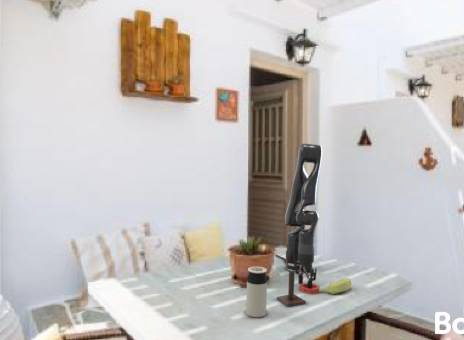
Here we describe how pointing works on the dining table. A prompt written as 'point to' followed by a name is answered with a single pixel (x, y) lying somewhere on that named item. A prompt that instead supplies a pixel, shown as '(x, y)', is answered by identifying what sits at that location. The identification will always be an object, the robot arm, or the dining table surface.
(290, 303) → the peg stand
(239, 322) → the dining table surface
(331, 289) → the banana
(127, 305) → the dining table surface
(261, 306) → the travel mug
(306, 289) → the ring
